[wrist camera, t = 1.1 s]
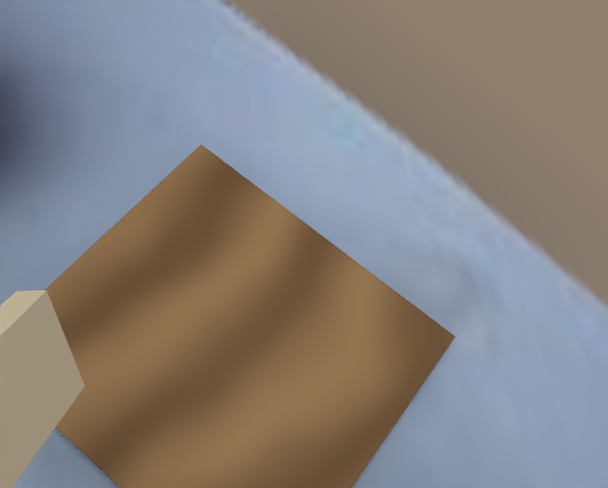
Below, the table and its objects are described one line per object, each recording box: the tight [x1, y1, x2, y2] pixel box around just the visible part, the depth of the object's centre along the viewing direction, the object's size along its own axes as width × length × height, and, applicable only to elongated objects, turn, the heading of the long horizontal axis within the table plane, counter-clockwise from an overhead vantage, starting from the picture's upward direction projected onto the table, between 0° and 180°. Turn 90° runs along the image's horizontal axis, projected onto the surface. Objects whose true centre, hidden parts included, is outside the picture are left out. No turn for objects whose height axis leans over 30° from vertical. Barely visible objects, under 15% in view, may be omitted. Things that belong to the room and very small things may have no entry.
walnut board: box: [45, 145, 455, 488], centre depth 30 cm, size 18×16×2 cm
